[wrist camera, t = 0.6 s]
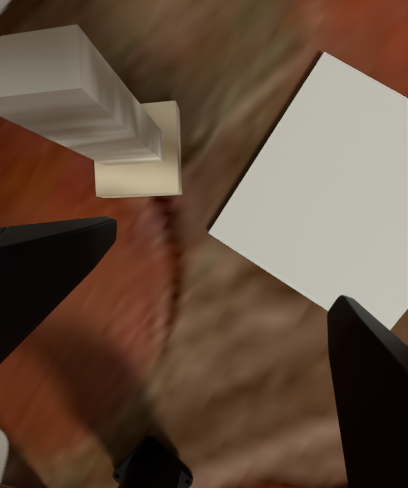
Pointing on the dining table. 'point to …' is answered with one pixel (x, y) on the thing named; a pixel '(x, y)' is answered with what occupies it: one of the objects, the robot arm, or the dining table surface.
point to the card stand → (90, 111)
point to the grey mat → (331, 194)
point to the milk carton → (6, 486)
